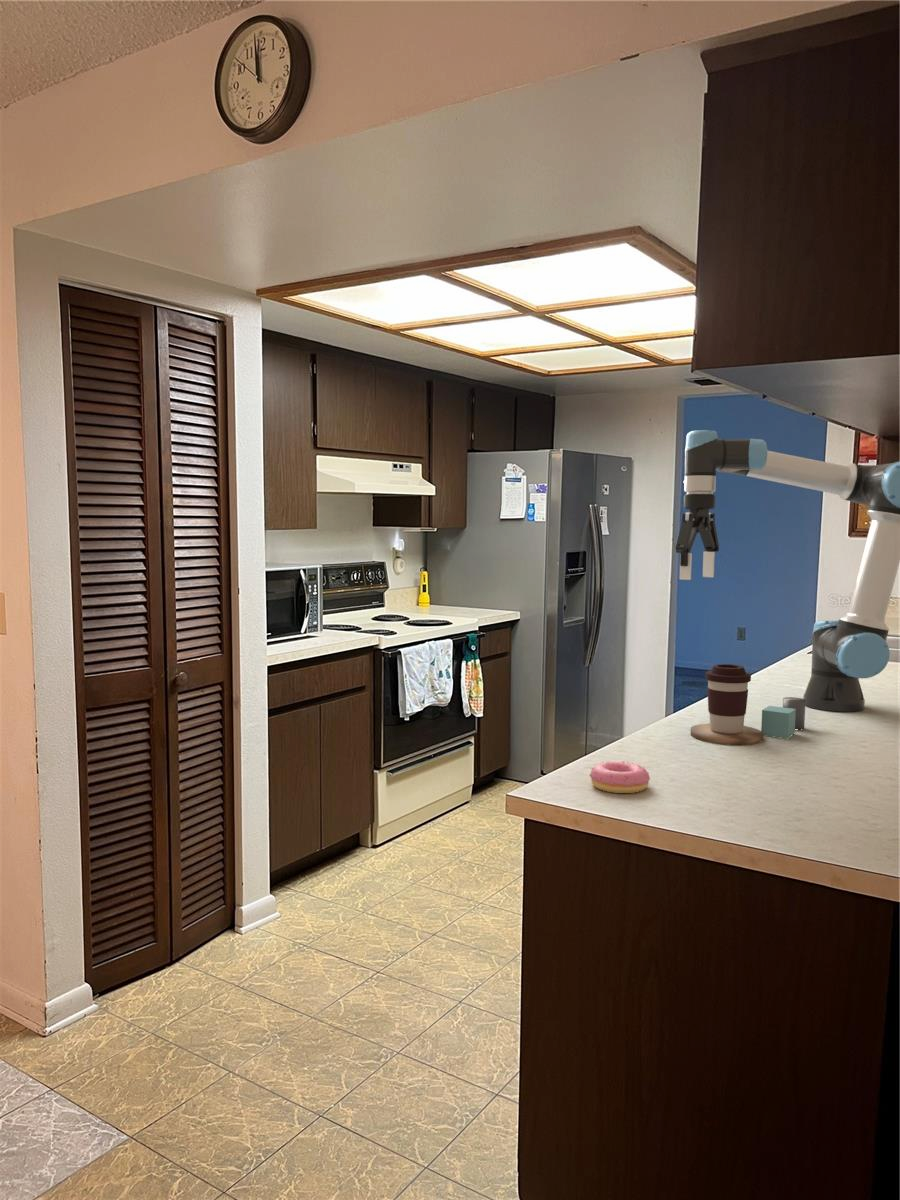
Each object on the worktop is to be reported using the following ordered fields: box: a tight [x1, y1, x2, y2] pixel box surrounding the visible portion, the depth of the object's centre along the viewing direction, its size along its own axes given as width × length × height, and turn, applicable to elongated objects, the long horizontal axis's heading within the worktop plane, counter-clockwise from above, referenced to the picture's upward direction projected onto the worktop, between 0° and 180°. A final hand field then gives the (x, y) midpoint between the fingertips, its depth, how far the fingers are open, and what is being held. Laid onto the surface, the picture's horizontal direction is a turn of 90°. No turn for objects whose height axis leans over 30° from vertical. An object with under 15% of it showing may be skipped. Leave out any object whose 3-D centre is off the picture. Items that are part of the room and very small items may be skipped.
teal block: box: [760, 705, 796, 739], centre depth 209 cm, size 6×6×6 cm
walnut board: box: [690, 722, 765, 746], centre depth 208 cm, size 16×16×1 cm
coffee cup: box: [704, 663, 752, 734], centre depth 207 cm, size 10×10×15 cm
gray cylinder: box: [782, 696, 806, 731], centre depth 216 cm, size 5×5×7 cm
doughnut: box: [589, 760, 651, 794], centre depth 168 cm, size 11×11×4 cm
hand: (696, 578), depth 228 cm, fingers open, 13 cm apart
